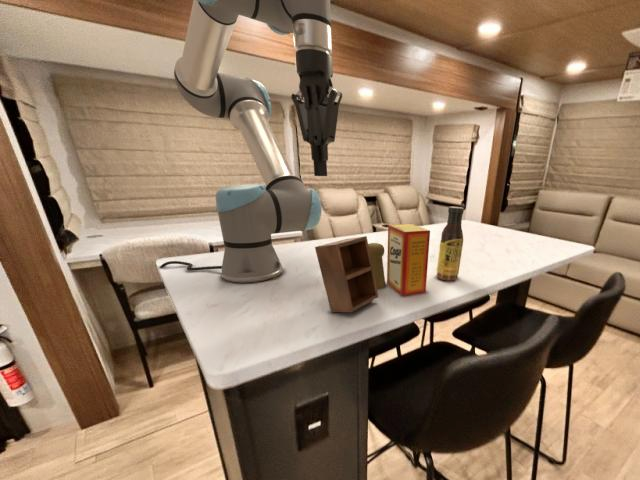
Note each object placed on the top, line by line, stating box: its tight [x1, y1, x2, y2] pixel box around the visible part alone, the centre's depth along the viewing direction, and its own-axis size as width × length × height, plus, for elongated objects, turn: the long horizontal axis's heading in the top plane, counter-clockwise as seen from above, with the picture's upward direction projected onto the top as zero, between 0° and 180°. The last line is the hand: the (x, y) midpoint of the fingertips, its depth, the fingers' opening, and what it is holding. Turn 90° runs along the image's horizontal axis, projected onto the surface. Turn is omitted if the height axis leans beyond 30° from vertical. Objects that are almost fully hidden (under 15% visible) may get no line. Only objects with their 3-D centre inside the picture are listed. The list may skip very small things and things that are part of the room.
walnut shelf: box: [314, 235, 380, 313], centre depth 67 cm, size 14×10×6 cm
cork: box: [368, 242, 386, 290], centre depth 80 cm, size 6×6×11 cm
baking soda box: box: [386, 223, 431, 297], centre depth 78 cm, size 10×6×16 cm
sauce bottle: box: [436, 206, 465, 282], centre depth 85 cm, size 6×6×20 cm
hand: (320, 175), depth 73 cm, fingers closed
